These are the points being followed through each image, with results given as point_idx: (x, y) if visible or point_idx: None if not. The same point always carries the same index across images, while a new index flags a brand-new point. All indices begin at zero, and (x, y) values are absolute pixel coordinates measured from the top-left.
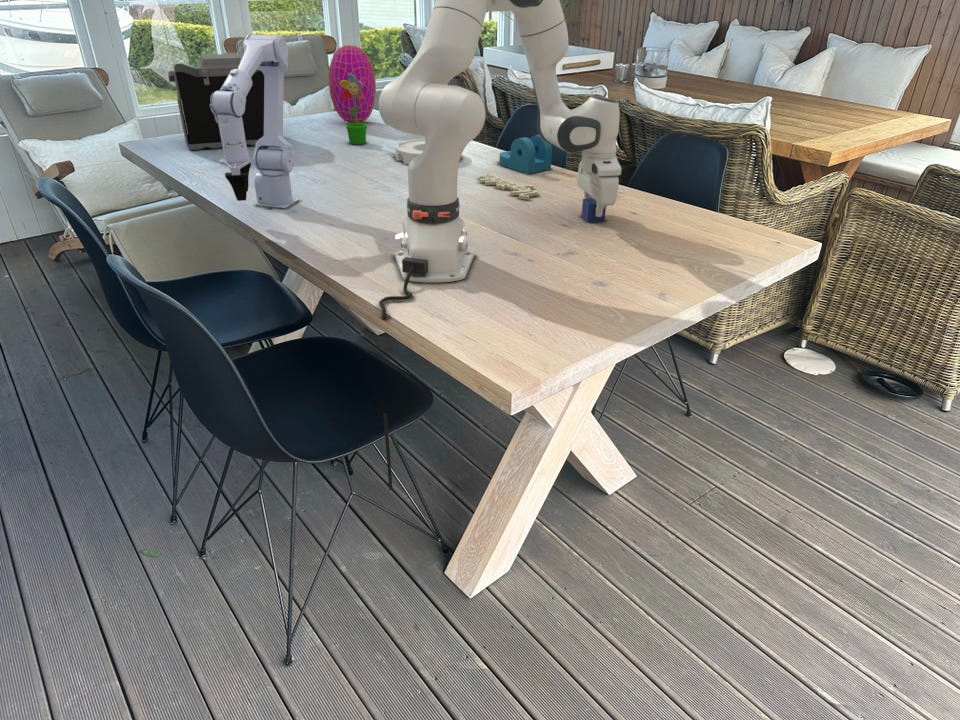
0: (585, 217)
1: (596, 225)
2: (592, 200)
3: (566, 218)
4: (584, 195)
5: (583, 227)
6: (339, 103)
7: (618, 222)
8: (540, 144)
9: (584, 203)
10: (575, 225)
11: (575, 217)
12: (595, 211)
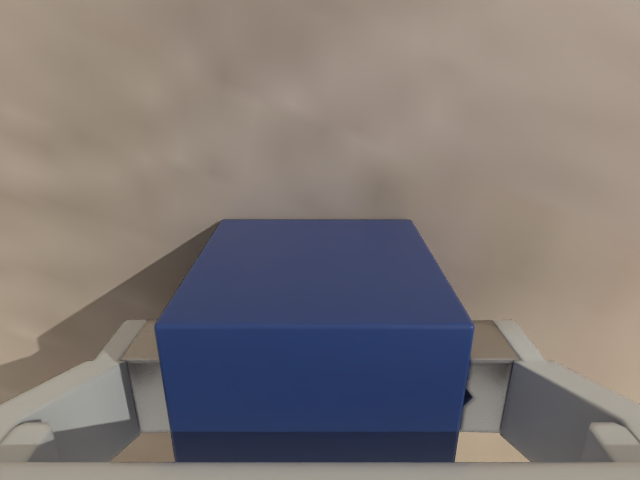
0: (283, 228)
1: (115, 271)
2: (343, 432)
3: (390, 17)
4: (629, 405)
5: (52, 116)
6: None
7: None
8: None
9: (369, 298)
10: (123, 43)
11: (397, 144)
12: (141, 346)
